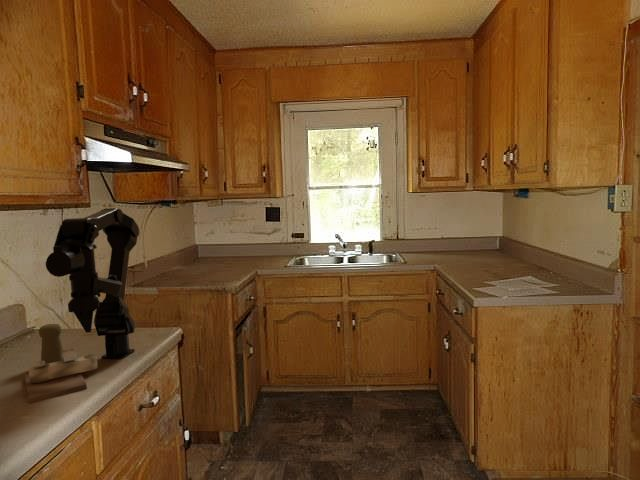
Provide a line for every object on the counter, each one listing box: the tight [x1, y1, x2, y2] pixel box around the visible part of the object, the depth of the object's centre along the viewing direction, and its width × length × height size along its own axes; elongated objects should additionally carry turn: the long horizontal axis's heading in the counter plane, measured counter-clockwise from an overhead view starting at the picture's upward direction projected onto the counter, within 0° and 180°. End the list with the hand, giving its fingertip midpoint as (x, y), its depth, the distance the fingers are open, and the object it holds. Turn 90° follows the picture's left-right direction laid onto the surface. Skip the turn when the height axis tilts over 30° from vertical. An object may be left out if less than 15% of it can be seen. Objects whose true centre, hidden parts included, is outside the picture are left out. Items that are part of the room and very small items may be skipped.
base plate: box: [24, 372, 88, 403], centre depth 113 cm, size 18×12×1 cm, turn 34°
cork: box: [38, 323, 64, 364], centre depth 126 cm, size 6×6×11 cm
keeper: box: [32, 347, 79, 368], centre depth 116 cm, size 9×8×6 cm
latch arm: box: [28, 354, 98, 383], centre depth 115 cm, size 15×4×3 cm, turn 124°
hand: (88, 332), depth 116 cm, fingers closed
